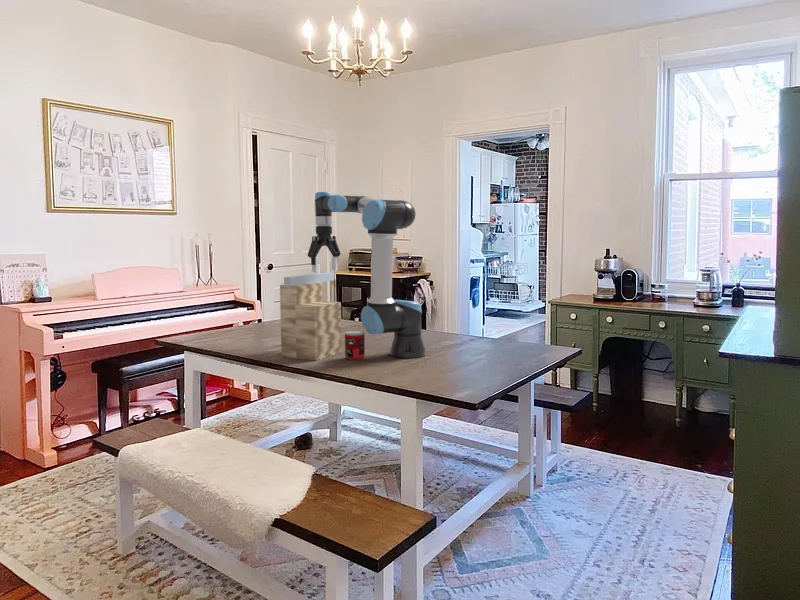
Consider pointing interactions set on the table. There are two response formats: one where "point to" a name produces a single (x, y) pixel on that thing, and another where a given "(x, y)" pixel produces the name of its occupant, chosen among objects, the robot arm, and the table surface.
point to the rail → (308, 279)
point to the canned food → (354, 345)
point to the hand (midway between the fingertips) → (324, 271)
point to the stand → (309, 323)
